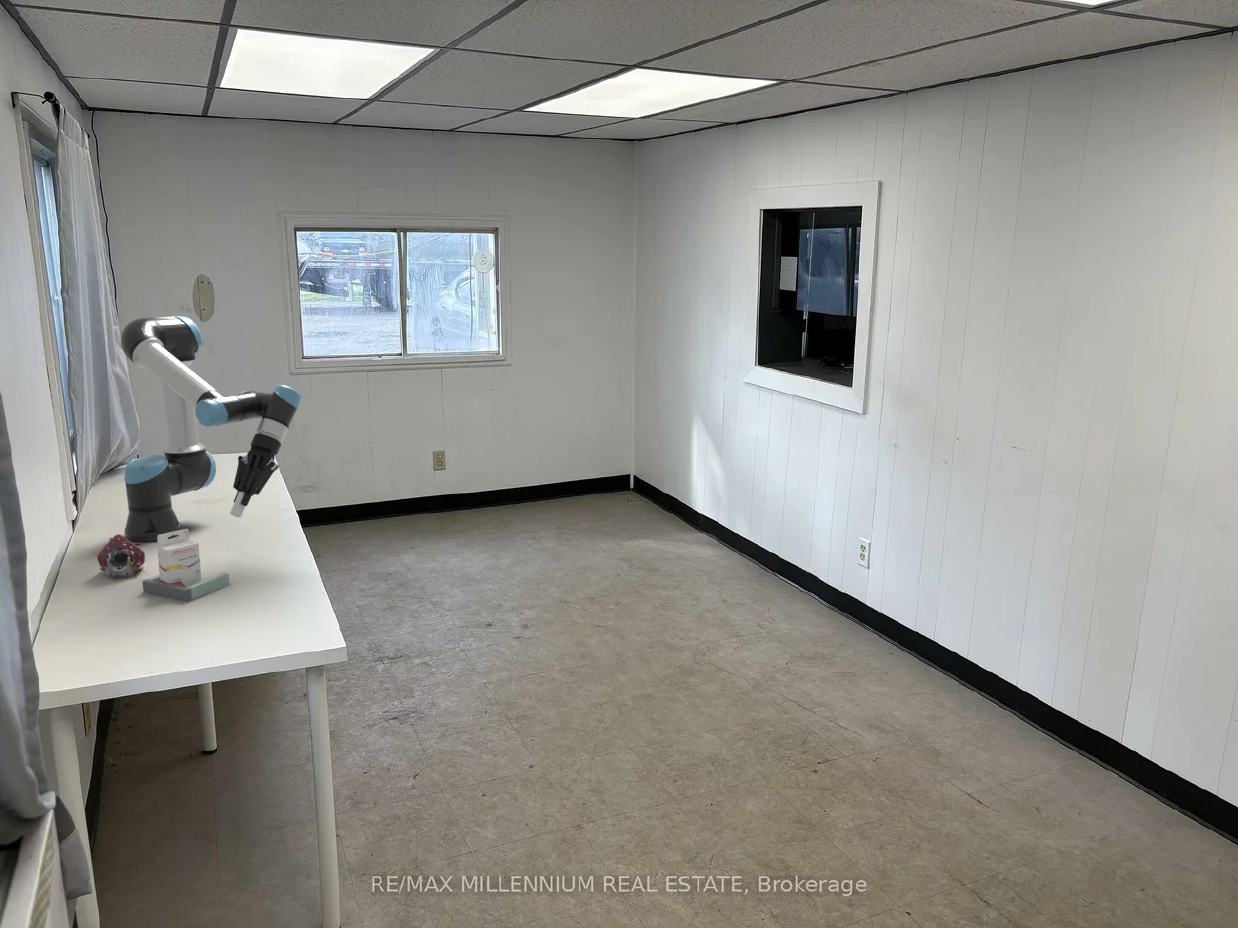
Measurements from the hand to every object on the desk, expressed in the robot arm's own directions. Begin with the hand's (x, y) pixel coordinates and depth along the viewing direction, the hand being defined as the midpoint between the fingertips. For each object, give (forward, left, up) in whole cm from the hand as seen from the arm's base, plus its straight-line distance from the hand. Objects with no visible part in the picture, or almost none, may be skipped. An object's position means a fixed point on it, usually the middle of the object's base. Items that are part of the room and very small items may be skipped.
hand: (235, 515), depth 247 cm
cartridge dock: (+2, -18, -14) cm, 23 cm away
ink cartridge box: (0, -19, -14) cm, 24 cm away
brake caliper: (-23, -18, -14) cm, 32 cm away
